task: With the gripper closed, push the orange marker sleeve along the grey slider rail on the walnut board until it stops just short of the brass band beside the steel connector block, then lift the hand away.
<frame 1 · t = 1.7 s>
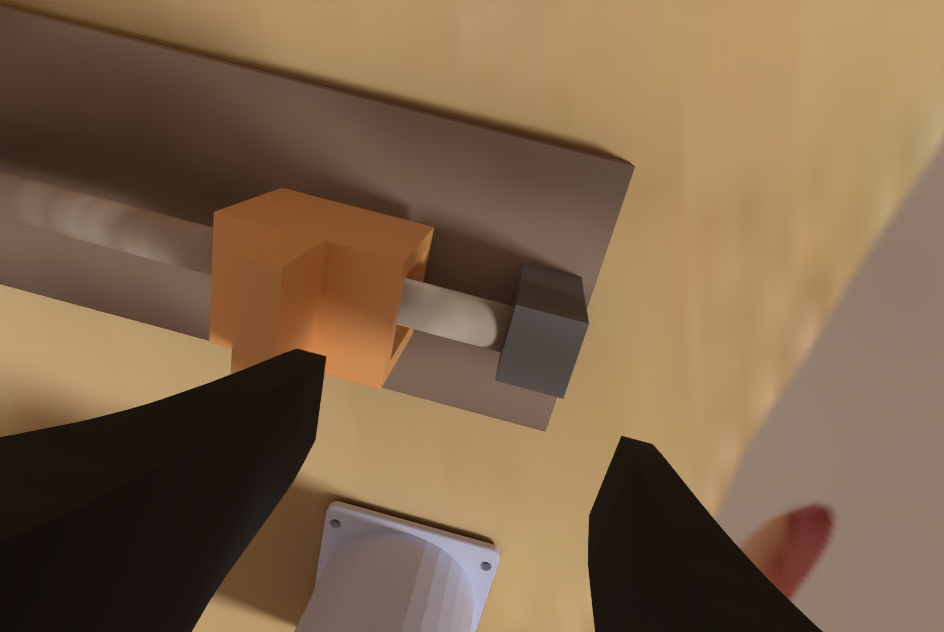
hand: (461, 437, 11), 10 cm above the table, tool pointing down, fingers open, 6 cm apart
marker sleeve: (310, 296, 15), point 5 cm above the table, slide at -6.0 cm
grey slider rail: (215, 204, 20), on the table
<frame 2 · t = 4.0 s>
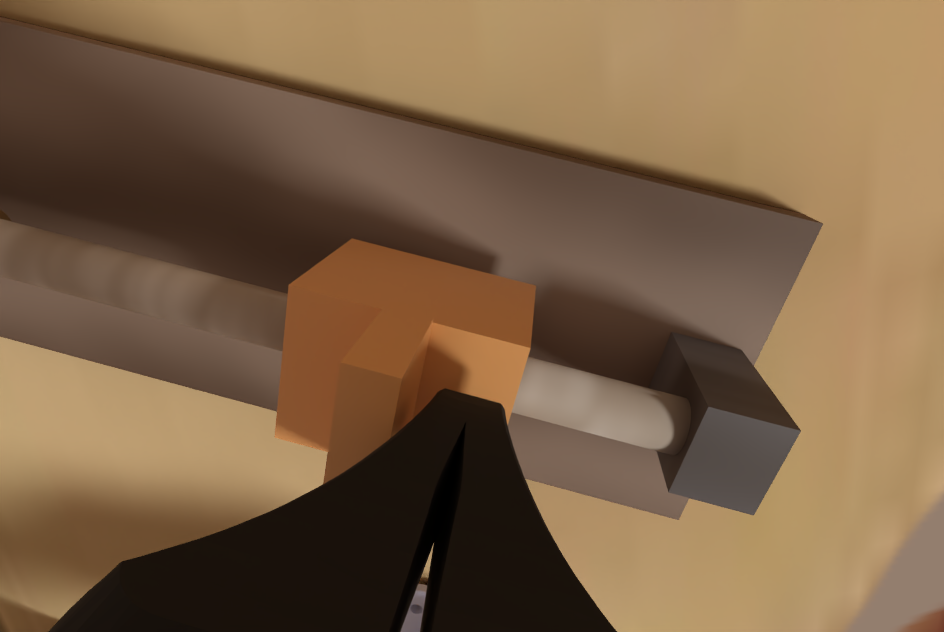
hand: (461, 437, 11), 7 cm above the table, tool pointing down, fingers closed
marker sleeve: (401, 381, 12), point 5 cm above the table, slide at -4.9 cm, touching gripper
grey slider rail: (295, 258, 17), on the table
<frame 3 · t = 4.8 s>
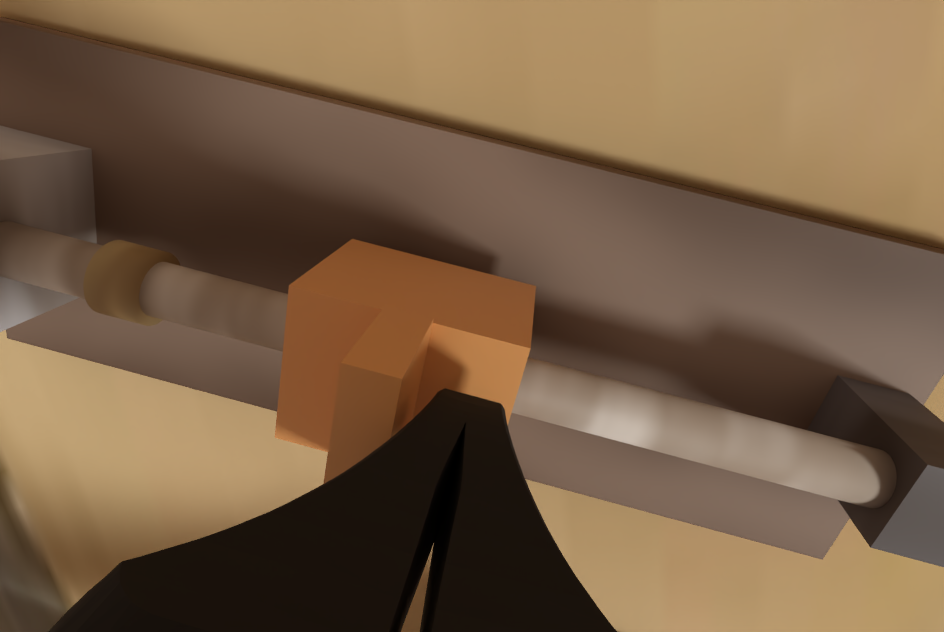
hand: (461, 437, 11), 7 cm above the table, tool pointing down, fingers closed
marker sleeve: (401, 381, 12), point 5 cm above the table, slide at -0.2 cm, touching gripper
grey slider rail: (438, 295, 17), on the table
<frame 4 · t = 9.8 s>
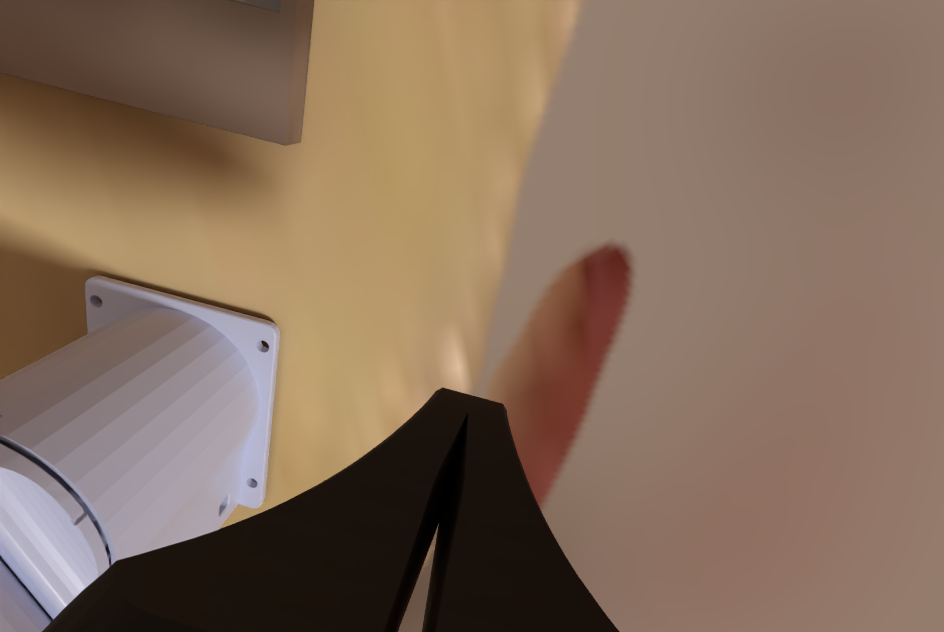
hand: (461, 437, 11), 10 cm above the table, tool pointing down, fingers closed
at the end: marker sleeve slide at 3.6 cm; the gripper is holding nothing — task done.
